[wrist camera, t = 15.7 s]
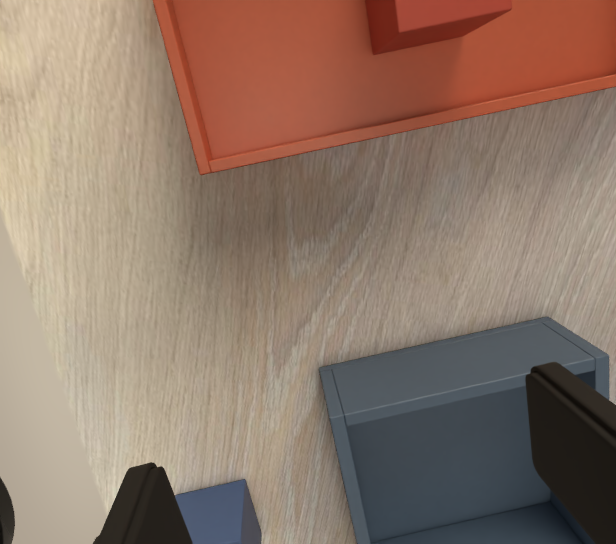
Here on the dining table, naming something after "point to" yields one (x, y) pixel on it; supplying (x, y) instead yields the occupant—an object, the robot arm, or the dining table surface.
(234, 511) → the blue block
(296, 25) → the terracotta tray
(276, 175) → the dining table surface
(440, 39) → the red block
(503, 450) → the slate bin
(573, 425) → the robot arm
